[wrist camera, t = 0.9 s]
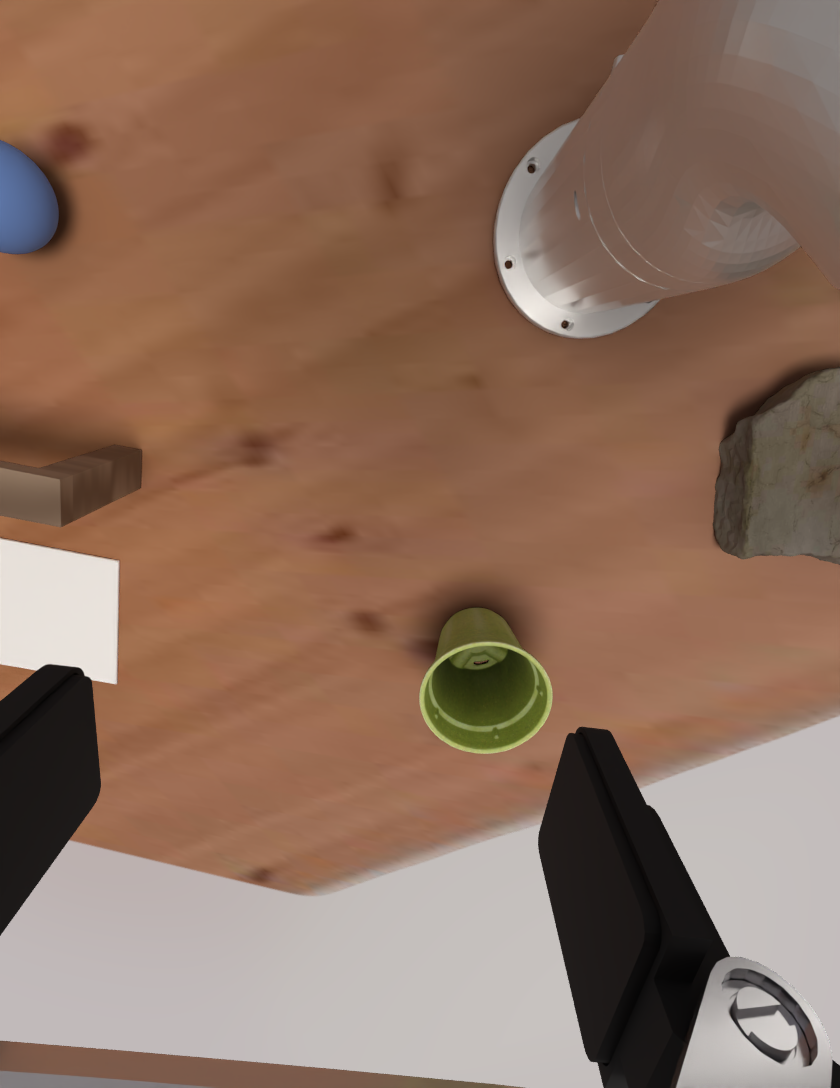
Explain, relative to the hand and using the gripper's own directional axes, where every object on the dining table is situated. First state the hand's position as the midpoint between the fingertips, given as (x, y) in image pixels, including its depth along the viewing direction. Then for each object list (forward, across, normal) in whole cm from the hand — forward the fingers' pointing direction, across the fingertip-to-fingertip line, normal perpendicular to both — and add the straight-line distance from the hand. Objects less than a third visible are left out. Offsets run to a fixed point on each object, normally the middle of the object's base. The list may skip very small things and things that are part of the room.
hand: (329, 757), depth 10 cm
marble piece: (+32, -32, -3) cm, 45 cm away
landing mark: (+32, +28, +17) cm, 45 cm away
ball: (+29, +26, -13) cm, 41 cm away
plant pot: (+32, -8, +15) cm, 36 cm away
